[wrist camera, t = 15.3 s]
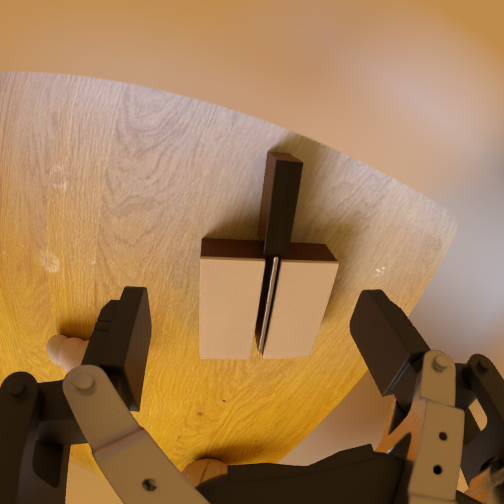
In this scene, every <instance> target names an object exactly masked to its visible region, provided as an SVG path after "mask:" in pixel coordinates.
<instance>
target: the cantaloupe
mask: <svg viewBox="0 0 504 504" xmlns="http://www.w3.org/2000/svg"><path fill="white" fill-rule="evenodd" d="M227 465H228V464H226V463H224V462H221V461H219V460H215V459H210V458H209V459H200V460H196V461H194V462H192V463H190V464H188V465H187V466H186V467H185V469H184V470H183V471H182V474H183V476H184V477H185V478H186V479H187V480H188V481H189V482H190V483H191V484H192V485H193V486H194V487H196V486H197V485H199V484H200V483H202V482H204V481H206V480H208V479H210V478H212V477H215V476H217V475H221V474H225V473H227Z"/></svg>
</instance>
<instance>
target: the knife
mask: <svg viewBox="0 0 504 504" xmlns="http://www.w3.org/2000/svg"><path fill="white" fill-rule="evenodd" d="M302 168H303V162H301V161H300V160H298V159H297V158H295V157H294V156H293V155H291V154H285V153H276V152H267V160H266V168H265V176H264V184H263V192H262V201H261V209H260V217H259V225H258V233H257V235H258V238H259V241H260V244H261V247H262V251H263V254H264V258H265V268H264V275H263V281H262V288H261V294H260V301H259V307H258V314H257V320H256V326H255V337H256V343H257V348H258V353H262V348H263V342H264V337H265V332H266V326H267V321H268V315H269V310H270V304H271V299H272V293H273V288H274V282H275V276H276V270H277V264H278V259H279V257H278V255H288V251H289V245H290V240H291V234H292V228H293V223H294V217H295V211H296V205H297V199H298V193H299V187H300V180H301V174H302Z"/></svg>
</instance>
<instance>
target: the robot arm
mask: <svg viewBox="0 0 504 504" xmlns="http://www.w3.org/2000/svg"><path fill="white" fill-rule="evenodd" d="M407 318H408V317H407V316H406V315H405V313H404V312H403V311H402V309H401V308H400V307H398V306H397V305H396V304H394V303H393V302H392V301H390V300H389V298H388V297H387V296H386V294H385V293H384V292H383V291H382V290H380V289H376V290H363V291H362V292H361V293H360V296H359V298H358V301H357V304H356V307H355V309H354V312H353V315H352V317H351V320H350V333H351V335H352V337H353V339H354V341H355V343H356V345H357V347H358V349H359V351H360V353H361V355H362V357H363V359H364V361H365V363H366V365H367V367H368V369H369V370H370V372H371V374H372V377H373V379H374V380H375V383H376V385H377V387H378V389H379V391H380V393H381V395H382V397H383V396H388V395H392V394H394V396H395V399H394V400H393V402H392V405H391V409H390V412H389V417H388V420H387V423H386V427H385V430H384V434H383V437H382V440H381V442H380V444H379V446H378V447H377V448H376V450H375V451H373V448H372V445H371V444H367V445H363V446H359V447H355V448H351V449H347V450H343V451H339V452H337V453H335V454H333V455H332V456H329V457H327V458H325V459H323V460H320V461H318V462H316V463H314V464H311V465H309V466H293V465H282V464H273V463H258V464H244V465H227V473H225V474H221V475H217V476H215V477H212V478H210V479H208V480H206V481H204V482H202V483H200V484H199V485H197V486H196V487H194V486H193V485H192V484H191V483H190V482H189V481H188V480H187V479H186V478H185V477H184V476H183V474H182V473H181V472H180V471H179V470H178V469H177V468H176V466H175V465H174V464H173V463H172V462H171V461H170V459H169V458H168V457H167V456H166V455H165V453H164V452H163V451H162V450H161V448H160V447H159V446H158V445H157V443H156V442H155V441H154V440H153V438H152V437H151V436H150V434H149V433H148V432H147V431H146V430H145V429H144V428H143V427H141V426H140V425H139V424H138V423H137V421H136V420H135V418H134V417H133V415H132V414H131V412H130V411H137V412H139V411H140V403H141V395H142V388H143V381H144V375H145V368H146V362H147V356H148V350H149V345H150V339H151V316H150V309H149V301H148V293H147V288H146V287H131V286H126V287H125V288H124V290H123V293H122V295H121V298H120V300H110V301H109V302H108V303H107V304H106V305H105V306H104V307H103V308H102V309H101V312H100V314H99V317H98V319H97V320H98V321H97V322H96V324H95V327H94V331H93V332H92V335H91V337H90V340H89V343H88V345H87V348H86V351H85V354H84V357H83V359H82V362H81V365H80V366H77V367H75V368H73V369H72V370H70V371H69V372H68V373H67V374H66V376H65V378H64V379H63V380H59V381H52V382H43V383H37V381H36V379H35V378H34V377H33V376H32V375H31V374H29V373H27V372H15V373H12V374H11V375H9V376H8V377H6V379H5V380H4V381H3V383H2V385H1V387H0V504H65V496H66V495H65V494H66V483H67V482H66V481H67V472H68V462H69V454H70V447H71V445H73V444H83V443H89V445H90V447H91V449H92V455H93V457H94V459H95V461H96V463H97V464H98V466H99V468H100V469H101V471H102V472H103V474H104V476H105V477H106V479H107V480H108V482H109V483H110V485H111V486H112V488H113V489H114V491H115V492H116V494H117V495H118V496H119V498H120V499H121V501H122V502H123V503H124V504H504V380H503V378H502V377H501V375H500V374H499V372H498V371H497V369H496V368H495V366H494V365H493V363H492V362H491V361H490V360H489V359H488V358H487V357H485V356H483V355H481V354H474V355H472V356H471V357H470V359H469V360H468V362H467V363H466V364H461V363H454V362H453V360H452V359H451V358H450V357H449V356H448V355H447V354H445V353H444V352H441V351H439V350H431V349H430V348H429V347H428V345H427V344H426V342H425V341H424V339H423V338H422V337H421V335H420V334H419V332H418V331H417V330H416V328H415V327H414V326H413V325H412V323H411V321H410V320H409V319H407ZM476 398H477V399H478V401H479V403H480V405H481V407H482V408H483V410H484V412H485V414H486V416H487V425H486V427H485V428H484V429H483V430H482V431H480V429H479V427H478V425H477V423H476V421H475V419H474V417H473V415H472V413H471V411H470V409H469V406H470V405H471V404H472V403H473V402H474V400H475V399H476ZM460 467H461V470H462V472H463V474H464V477H465V480H466V482H467V485H468V488H469V489H468V490H467V491H465V492H464V493H462V492H460V491H458V490H456V489H457V483H458V477H459V471H460Z"/></svg>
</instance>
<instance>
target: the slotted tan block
mask: <svg viewBox="0 0 504 504" xmlns="http://www.w3.org/2000/svg"><path fill="white" fill-rule="evenodd" d="M278 257H279V259H278V264H277V270H276V276H275V282H274V288H273V293H272V299H271V304H270V310H269V315H268V321H267V326H266V332H265V337H264V342H263V348H262V355H263V359H279V358H300V357H310V355H311V353H312V350H313V347H314V344H315V341H316V338H317V335H318V332H319V329H320V326H321V323H322V320H323V317H324V314H325V311H326V307H327V304H328V301H329V298H330V294H331V291H332V288H333V284H334V281H335V277H336V274H337V270H338V267H339V263H338V262H337V260H336V259H335V257H334V256H333V254H332V253H331V252H330V250H329V249H328V247H327V246H326V245H325V244H309V243H290V245H289V251H288V255H278ZM264 268H265V258H264V255H263V252H262V249H261V246H260V242H259V241H250V240H229V239H206V238H202V244H201V257H200V318H199V326H200V359H250V358H251V352H252V345H253V339H254V333H255V326H256V320H257V314H258V307H259V301H260V294H261V288H262V281H263V275H264Z"/></svg>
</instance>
